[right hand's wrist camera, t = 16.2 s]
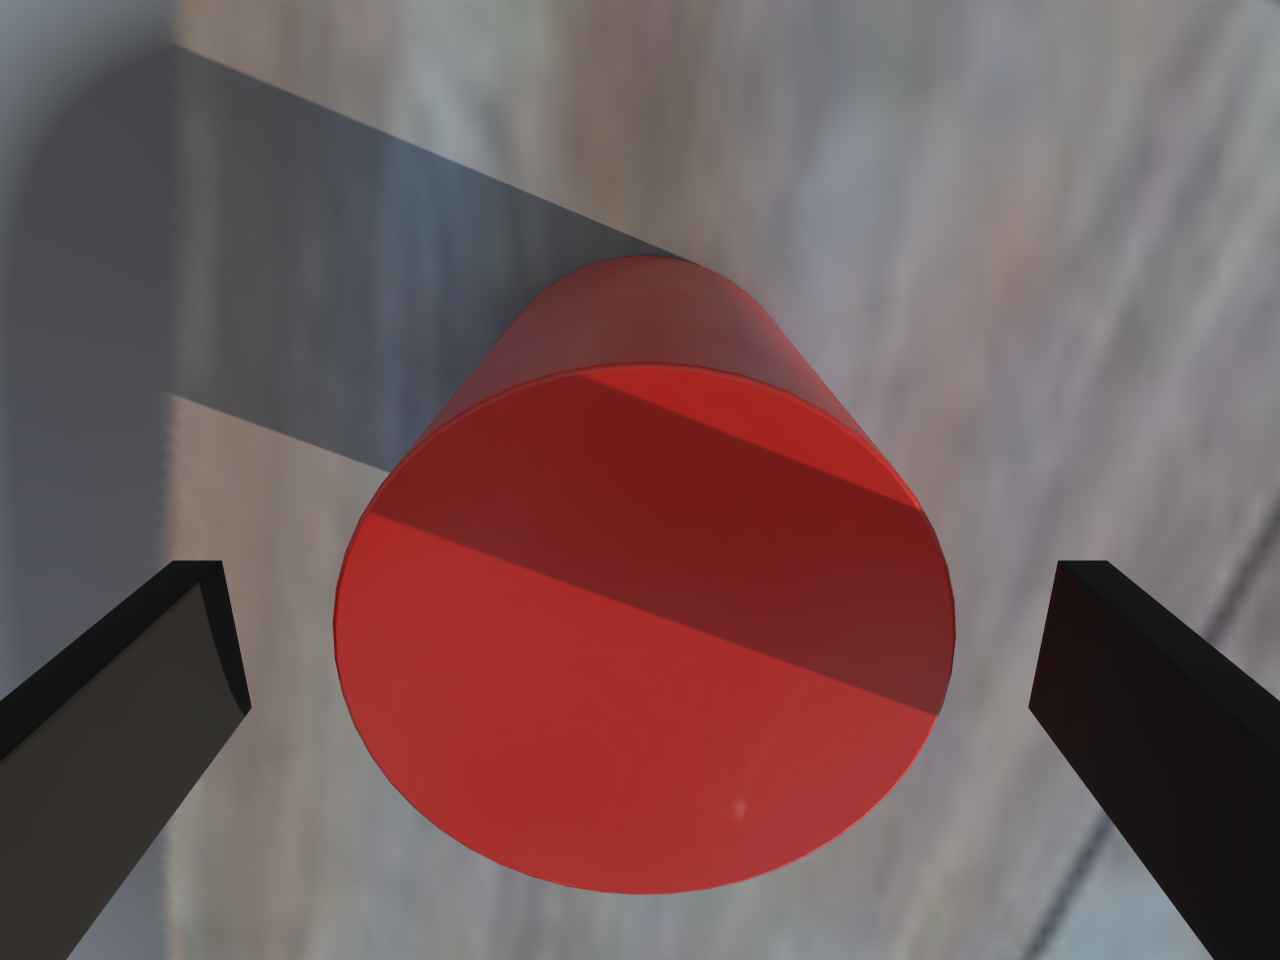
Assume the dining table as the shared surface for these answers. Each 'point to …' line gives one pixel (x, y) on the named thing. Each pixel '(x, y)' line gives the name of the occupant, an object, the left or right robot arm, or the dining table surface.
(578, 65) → the dining table surface
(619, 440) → the tin
